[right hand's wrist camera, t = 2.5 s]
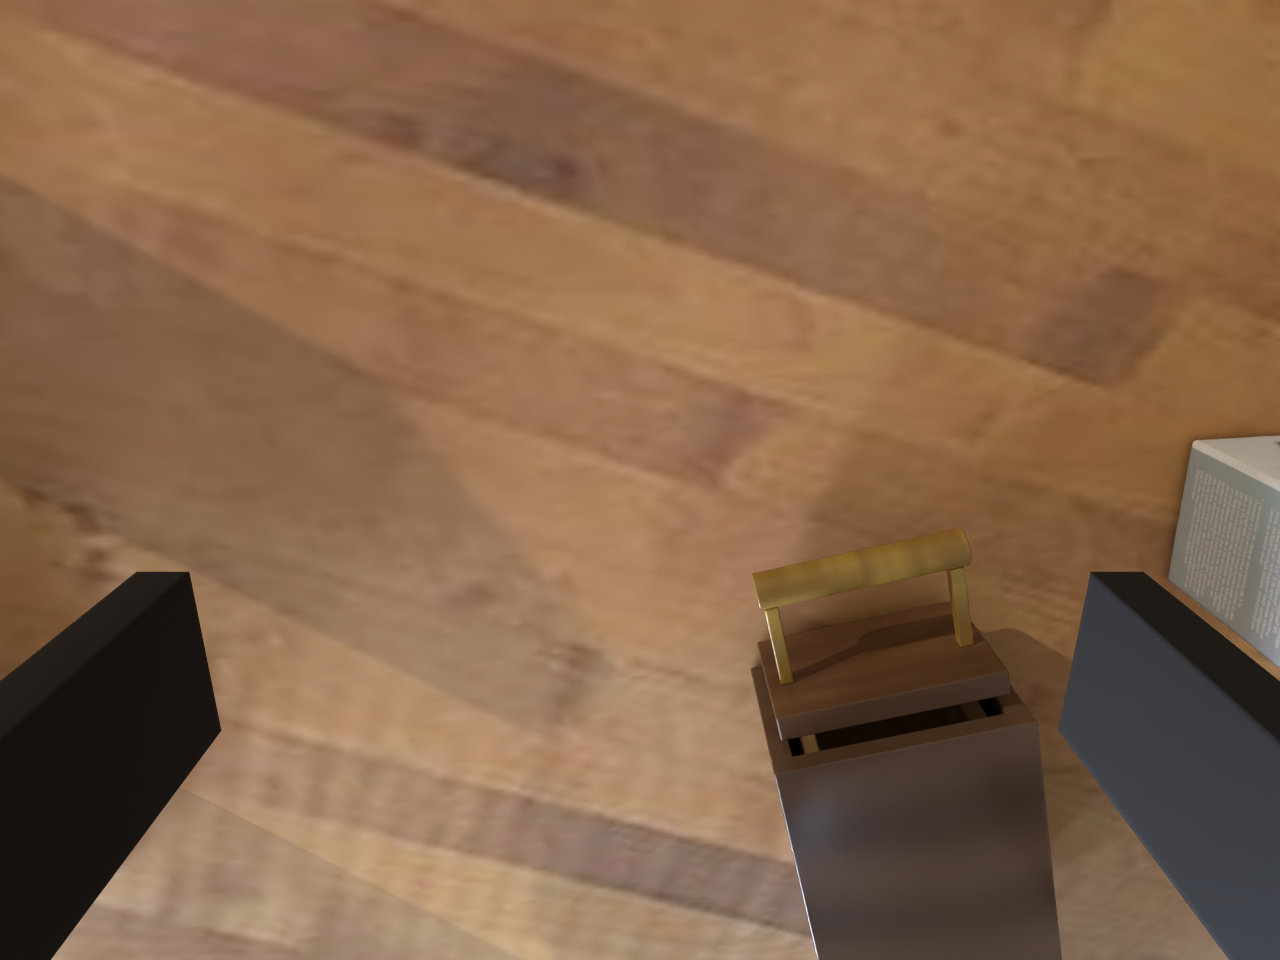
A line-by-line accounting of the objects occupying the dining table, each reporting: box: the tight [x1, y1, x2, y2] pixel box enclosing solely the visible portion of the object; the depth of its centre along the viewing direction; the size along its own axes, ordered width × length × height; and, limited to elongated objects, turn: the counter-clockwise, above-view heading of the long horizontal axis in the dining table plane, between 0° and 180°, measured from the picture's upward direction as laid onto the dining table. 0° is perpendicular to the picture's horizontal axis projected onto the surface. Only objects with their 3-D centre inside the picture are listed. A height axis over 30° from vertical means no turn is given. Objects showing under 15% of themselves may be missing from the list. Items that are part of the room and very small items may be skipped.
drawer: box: [752, 528, 1011, 755], centre depth 40 cm, size 23×10×6 cm, turn 14°
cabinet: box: [751, 666, 1062, 960], centre depth 42 cm, size 18×11×8 cm, turn 14°
